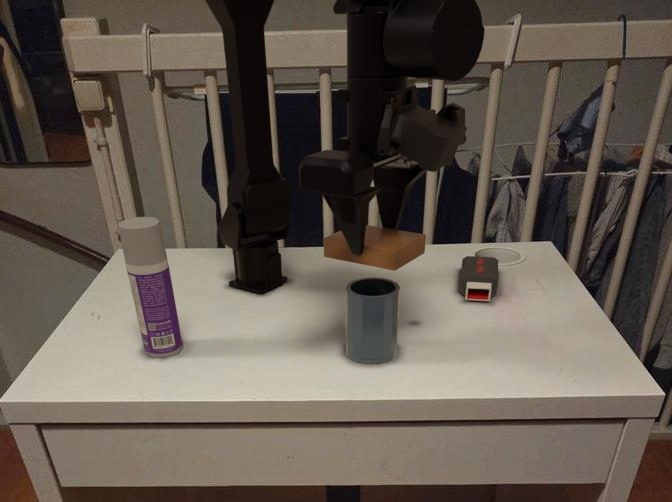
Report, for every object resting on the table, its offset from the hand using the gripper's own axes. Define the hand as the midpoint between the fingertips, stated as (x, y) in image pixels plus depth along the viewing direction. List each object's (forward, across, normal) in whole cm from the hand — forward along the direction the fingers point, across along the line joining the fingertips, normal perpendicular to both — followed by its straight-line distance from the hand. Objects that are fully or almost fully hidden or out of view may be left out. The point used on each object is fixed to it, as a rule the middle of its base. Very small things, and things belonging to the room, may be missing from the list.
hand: (373, 245), depth 67 cm
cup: (+12, -1, 0) cm, 12 cm away
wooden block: (+1, 0, 0) cm, 1 cm away
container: (+12, -14, +22) cm, 28 cm away
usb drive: (+12, +25, -2) cm, 28 cm away
